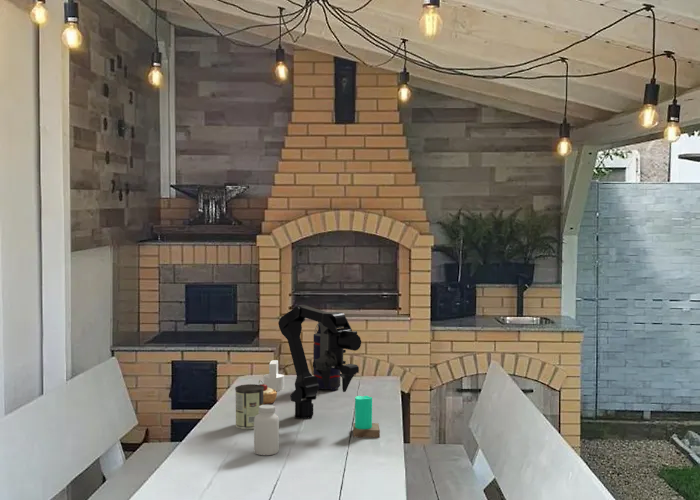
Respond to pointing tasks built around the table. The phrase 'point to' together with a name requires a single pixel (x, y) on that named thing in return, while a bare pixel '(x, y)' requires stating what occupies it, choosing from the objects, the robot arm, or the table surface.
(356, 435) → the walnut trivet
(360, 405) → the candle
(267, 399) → the pastry
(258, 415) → the pill bottle
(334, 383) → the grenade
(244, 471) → the table surface
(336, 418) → the table surface
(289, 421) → the table surface
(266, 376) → the base with upright slab
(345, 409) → the table surface
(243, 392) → the coffee can
